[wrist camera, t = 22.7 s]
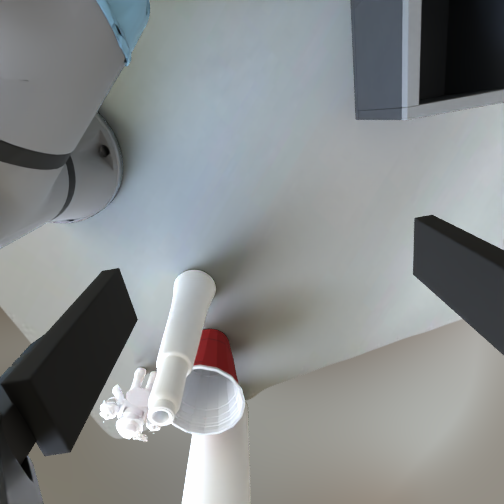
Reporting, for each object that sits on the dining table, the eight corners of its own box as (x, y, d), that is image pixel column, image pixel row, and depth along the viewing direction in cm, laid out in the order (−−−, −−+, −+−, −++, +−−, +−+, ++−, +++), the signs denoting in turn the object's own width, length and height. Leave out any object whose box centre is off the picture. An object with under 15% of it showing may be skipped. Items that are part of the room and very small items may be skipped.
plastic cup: (207, 300, 48) (197, 355, 37) (258, 341, 51) (263, 403, 40) (160, 343, 50) (138, 406, 39) (211, 380, 54) (204, 448, 43)
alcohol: (256, 413, 57) (271, 695, 29) (211, 430, 58) (185, 715, 30) (234, 379, 54) (228, 657, 26) (187, 397, 55) (134, 682, 27)
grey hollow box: (540, 95, 27) (570, -96, 22) (406, 120, 27) (409, -64, 22) (447, 103, 39) (453, -21, 34) (355, 119, 39) (350, 0, 34)
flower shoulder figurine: (177, 373, 53) (161, 441, 42) (170, 390, 54) (152, 460, 43) (123, 357, 51) (90, 423, 40) (116, 375, 52) (83, 443, 41)
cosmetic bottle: (224, 292, 47) (212, 422, 27) (191, 312, 48) (156, 452, 28) (199, 261, 45) (165, 377, 25) (165, 283, 46) (107, 410, 26)
